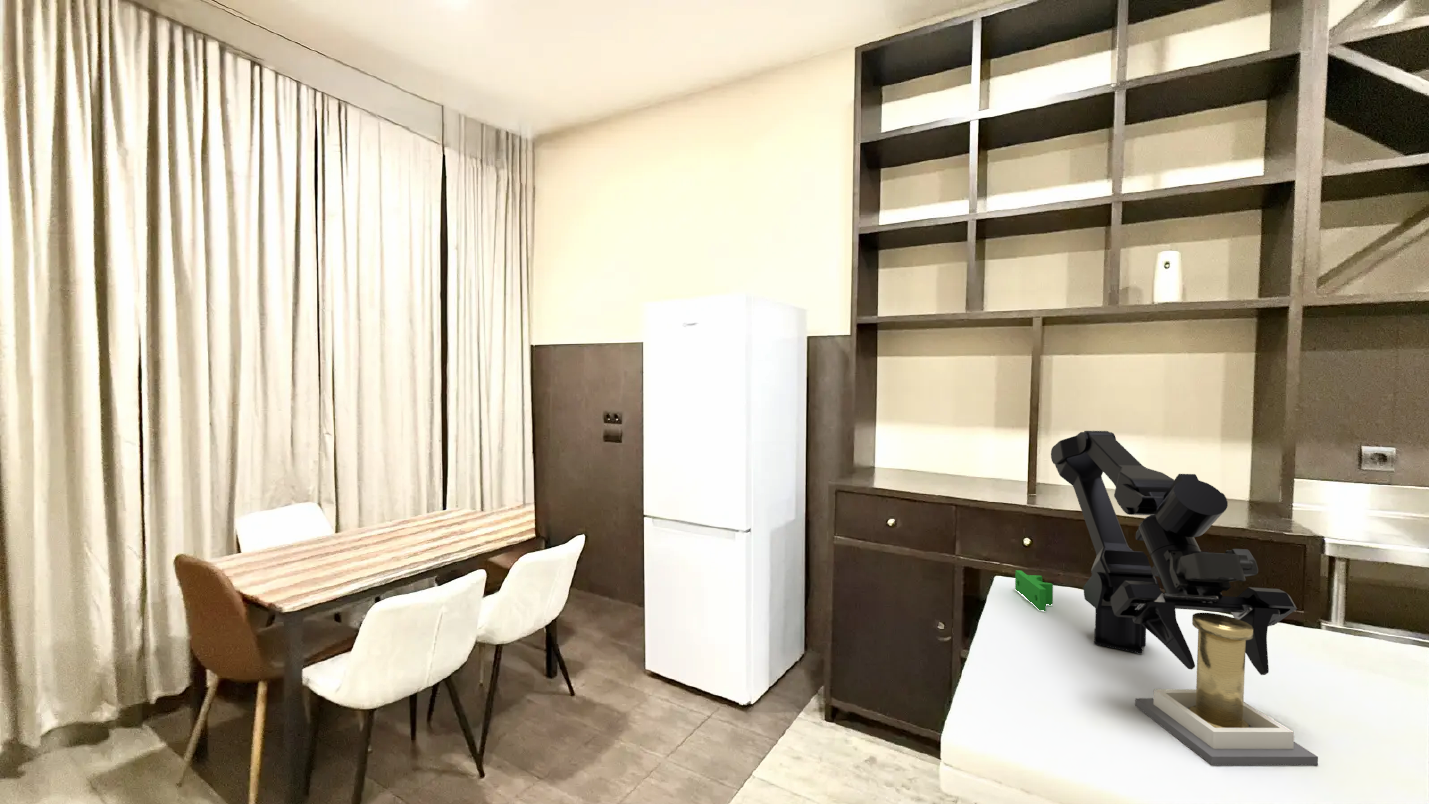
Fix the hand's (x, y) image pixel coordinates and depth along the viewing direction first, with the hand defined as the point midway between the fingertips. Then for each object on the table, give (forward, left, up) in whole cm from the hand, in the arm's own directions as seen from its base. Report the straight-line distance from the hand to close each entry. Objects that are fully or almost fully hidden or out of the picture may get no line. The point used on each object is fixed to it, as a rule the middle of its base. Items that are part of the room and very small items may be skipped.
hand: (1228, 671), depth 69 cm
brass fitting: (-1, +1, -7) cm, 8 cm away
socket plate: (-1, +1, -9) cm, 9 cm away
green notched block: (-24, +37, -9) cm, 45 cm away
